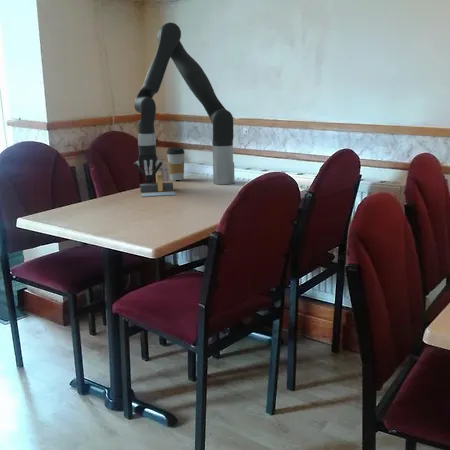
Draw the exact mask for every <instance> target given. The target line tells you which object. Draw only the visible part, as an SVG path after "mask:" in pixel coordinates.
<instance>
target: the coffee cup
mask: <svg viewBox="0 0 450 450" xmlns="http://www.w3.org/2000/svg"><path fill="white" fill-rule="evenodd" d="M166 155H167V165H168V166H167V167H168V173H169V179H170V182H177V181H176V180H182V181H183V180H184V178H185V177H184V176H185V175H184V174H185V150H184V147H169V148H167V151H166Z"/></svg>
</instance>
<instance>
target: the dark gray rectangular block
mask: <svg viewBox="0 0 450 450" xmlns="http://www.w3.org/2000/svg"><path fill="white" fill-rule="evenodd" d="M162 185H163V191H162V192H173V191H174V183H173V181H170V182H162ZM139 188H140V191H139V192H140V193H156V192H159V191H158V183H156V182H154V183H153V182H151V184H148V183H140V184H139ZM172 190H173V191H172Z"/></svg>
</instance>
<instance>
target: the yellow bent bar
mask: <svg viewBox="0 0 450 450" xmlns="http://www.w3.org/2000/svg"><path fill="white" fill-rule="evenodd" d="M155 181H156V182H155V183H158V191H157V192H164V191H163V185H162V183H163V175H162V172H161V171H159V170H158V171H157V172H156V173H155Z"/></svg>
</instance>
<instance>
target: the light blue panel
mask: <svg viewBox="0 0 450 450" xmlns="http://www.w3.org/2000/svg"><path fill="white" fill-rule="evenodd" d="M140 193H141V194H140V195H141V197H142V198H151V197H165V196H167V197H168V196H177V194H176V191H155V192H140Z"/></svg>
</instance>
